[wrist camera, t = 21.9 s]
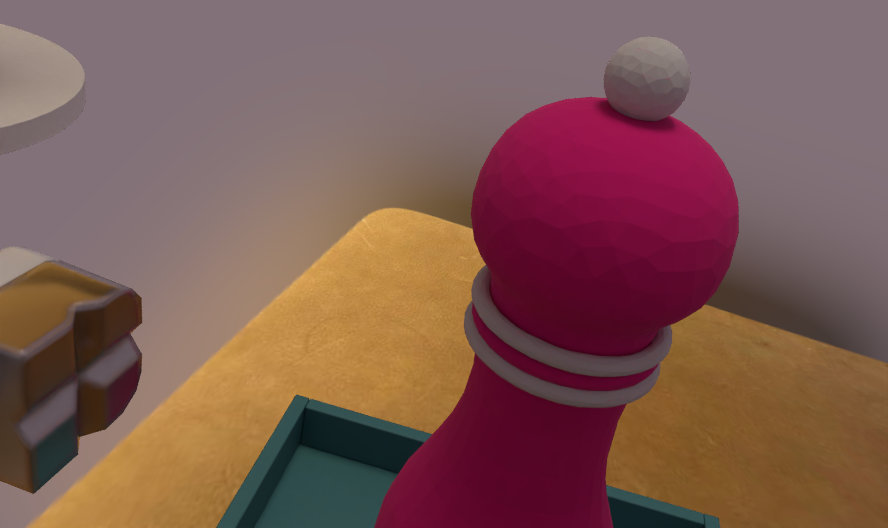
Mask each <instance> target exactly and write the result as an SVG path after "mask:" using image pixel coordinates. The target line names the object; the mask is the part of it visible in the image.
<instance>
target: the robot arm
mask: <svg viewBox="0 0 888 528" xmlns="http://www.w3.org/2000/svg"><path fill="white" fill-rule="evenodd" d="M141 323H142V305H141V297H140V296H139V295H138V294H137V293H136V292H135V291H134V290H133V289H131V288H128V287H126V286H123V285H121V284H118V283H116V282H113V281H111V280H108V279H106V278H103V277H100V276H98V275H96V274H93V273H91V272H88V271H86V270H83V269H81V268H78V267H75V266H73V265H70V264H68V263H65V262H63V261H57V260H55V259H53V258H51V257H48V256H46V255H43V254H41V253H38V252H36V251H33V250H30V249H28V248H25V247H7V248H5V249H3V250H1V251H0V481H2V482H4V483H7V484H10V485H12V486H15V487H17V488H20V489H22V490H25V491H27V492H30V493H33V494H34V493H35V492H36V491H37V490H39V489H40V488H41V487H42V486H43V485H44V484H45V483H46V482H47V481H49V480H50V479H51V478H52V477H53V476H54V475H55V474H56V473H58V472H59V471H60V470H61V469H62V468H63V467H64V466H65V465H66V464H67V463H69V462H70V461H71V460H72V459H73V458H74V457H75V456H77V455H78V449H79V440H80V437H81V436H84V435H88V434H91V433H94V432H98V431H101V430H105V429H106V428H107V427H109V426H110V425H111V424H112V423H113V422H114V421H115V420H116V419H117V418H118V417H119V416H120V415H121V414H122V413H123V412H124V410H125V408H126V407H127V405H128V403H129V402H130V400H131V399H132V397H133V395H134V394H135V392H136V390H137V386H138V382H139V378H140V374H141V365H142V363H141V362H142V354H141V352H140V350H139V349H138V347H137V345H136V343H135V341H134V339H133V338H132V336H131V333H132V332H133V330H135V329H136V328H137V327H138V326H139V325H140V324H141Z"/></svg>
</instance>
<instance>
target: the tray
mask: <svg viewBox="0 0 888 528" xmlns="http://www.w3.org/2000/svg"><path fill="white" fill-rule="evenodd" d="M431 435H432V434H429V433H426V432H423V431H419V430H416V429H412V428H409V427H405V426H402V425H399V424H395V423H392V422H388V421H385V420H382V419H378V418H375V417H371V416H368V415H364V414H361V413H358V412H354V411H351V410H347V409H344V408H340V407H337V406H334V405H330V404H327V403H323V402H320V401H317V400H313V399H310V400H309V398H306V397H303V396H299V395H296V396H295V397H294V399H293V401H292V402H291V404H290V406H289V407H288V409H287V411H286V412H285V414H284V415H283V417H282V419H281V420H280V422H279V424H278V425H277V427H276V429H275V430H274V432H273V434H272V435H271V437H270V439H269V440H268V442H267V444H266V445H265V447H264V449H263V450H262V452H261V454H260V455H259V457H258V459H257V460H256V462H255V464H254V465H253V467H252V469H251V470H250V472H249V474H248V475H247V477H246V479H245V480H244V482H243V484H242V485H241V487H240V489H239V490H238V492H237V494H236V495H235V497H234V499H233V500H232V502H231V504H230V505H229V507H228V509H227V510H226V512H225V514H224V515H223V517H222V519H221V520H220V522H219V524H218V525H217V527H216V528H374V526H375V523H376V520H377V517H378V514H379V511H380V508H381V505H382V502H383V499H384V497H385V495H386V494H387V492H388V490H389V488H390V486H391V484H392V483H393V481H394V480H395V478H396V477H397V475H398V474H399V472H400V471H401V469H402V468H403V466H404V465H405V464H406V462H407V461H408V459H409V458H410V457H411V456H412V455H413V454H414V453H415V452H416V451H417V450H418V449H419V448H420V447H421V446H422V445H423V444H424V443H425V442H426V441H427V440H428V439H429V437H430V436H431ZM606 492H607V497H608V502H609V508H610V513H611V518H612V523H613V528H720V524H719V518H717V517H714V516H710V515H707V514H704V515H703V514H702V513H700V512H696V511H693V510H689V509H686V508H683V507H679V506H676V505H672V504H669V503H666V502H662V501H659V500H655V499H652V498H648V497H645V496H642V495H638V494H635V493H631V492H628V491H624V490H621V489H618V488H614V487H611V486H607V485H606Z"/></svg>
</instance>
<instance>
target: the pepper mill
mask: <svg viewBox="0 0 888 528" xmlns="http://www.w3.org/2000/svg"><path fill="white" fill-rule="evenodd" d="M689 86H690V69H689V66H688V63H687V60H686V58H685V56H684V54H683V53H682V52H681V51H680V49H679V48H678V47H676V46H675V45H673V44H672V43H671V42H669V41H666V40H664V39H661V38H656V37H642V38H637V39H634V40H632V41H631V42H629V43H627V44H625V45H623V46H622V47H621V48H619V50H617V52H616V53H615V54H614V55H613V56H612V57H611V59H610V61H609V63H608V65H607V67H606V70H605V75H604V88H605V93H606V96H607V98H596V97H585V98H574V99H565V100H562V101H558V102H555V103H551V104H548V105H545V106H542V107H540V108H538V109H536V110H534V111H532V112H530V113H528V114H526V115H524V116H523V117H522V118H521V119H520V120H518V121H517V122H516V123H515V124H513V125H512V126H511V127H510V128H509V129H507V130H506V131H505V133H504V134H503V135H502V136H501V138H500V139H499V140H498V142H497V143H496V144H495V145H494V147H493V148H492V150H491V152H490V154H489V156H488V158H487V159H486V161H485V163H484V165H483V167H482V169H481V171H480V174H479V177H478V180H477V183H476V187H475V190H474V193H473V201H472V209H471V218H472V226H473V234H474V240H475V242H476V245H477V247H478V250H479V252H480V255H481V257H482V258H483V260H484V262H485V263H486V265H485V266H484V267H483V268H482V269H481V270H480V271H479V272H478V273H477V275H476V277H475V279H474V281H473V285H472V289H471V290H472V301H471V303H470V304H469V305H468V307H467V310H466V312H465V318H464V329H465V334H466V337H467V340H468V342H469V344H470V346H471V347H472V349H473V350H474V352H475V357H474V364H473V367H472V370H471V373H470V376H469V379H468V382H467V385H466V388H465V391H464V393H463V395H462V397H461V398H460V400H459V402H458V404H457V405H456V407H455V409H454V410H453V412H452V413H451V414H450V415H449V417H448V418H447V419H446V420H445V421H444V422H443V424H442V425H441V426H440V427H439V428H438V429H437V430H436V431H435V432H434V433H433V434H432V435H431V436H430V437H429V439H428V440H427V441H426V442H425V443H424V444H423V445H422V446H421V447H420V448H419V449H418V450H417V451H416V452H415V453H414V454H413V455H412V456H411V457H410V458H409V459H408V461H407V462H406V464H405V465H404V466H403V468H402V469H401V471H400V472H399V474H398V475H397V477H396V478H395V480H394V481H393V483H392V484H391V486H390V488H389V490H388V492H387V494H386V495H385V497H384V499H383V502H382V505H381V508H380V511H379V514H378V517H377V520H376V523H375V526H374V528H613V523H612V518H611V513H610V508H609V502H608V497H607V492H606V481H605V477H606V466H607V457H608V453H609V450H610V447H611V443H612V440H613V437H614V433H615V430H616V427H617V423H618V420H619V418H620V416H621V414H622V412H623V410H624V408H625V406H626V404H627V403H631V402H633V401H635V400H637V399H640V398H641V397H642V396H644V395H645V394H646V393H648V392H649V391H650V390H651V389H652V387H653V386H654V385H655V383H656V381H657V378H658V376H659V373H660V362H661V361H662V360H663V359H664V358H665V356H666V355H667V354H668V352H669V350H670V347H671V343H672V330H671V327H670V325H671V324H674V323H676V322H678V321H680V320H682V319H684V318H686V317H687V316H689V315H691V314H692V313H694V312H695V311H697V310H699V309H700V308H701V307H702V306H703V305H704V304H705V303H706V302H707V301H708V300H709V298H710V297H712V295H713V294H714V293H715V292H716V290H717V289H718V287H719V285H720V283H721V281H722V280H723V278H724V276H725V274H726V272H727V270H728V268H729V267H730V263H731V259H732V256H733V251H734V248H735V244H736V240H737V237H738V233H739V230H738V229H739V227H738V226H739V225H738V223H739V220H738V218H739V214H738V199H737V195H736V191H735V188H734V183H733V180H732V178H731V176H730V174H729V172H728V170H727V169H726V167H725V165H724V163H723V161H722V160H721V158H720V157H719V156H718V154H717V153H716V152H715V150H714V149H713V148H712V147H711V145H709V144H708V143H707V142H706V141H705V140H704V139H703V138H702V137H701V136H700V135H699V134H698V133H696V132H695V131H694V130H692V129H691V128H689V127H688V126H687V125H685V124H684V123H682V122H681V121H679V120H677V119H675V118H673V117H671V116H669V115H671V114H672V113H674V112H675V111H676V109H678V107H679V106H680V105H681V104H682V102H683V101H684V100H685V98H686V95H687V92H688V90H689Z"/></svg>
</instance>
